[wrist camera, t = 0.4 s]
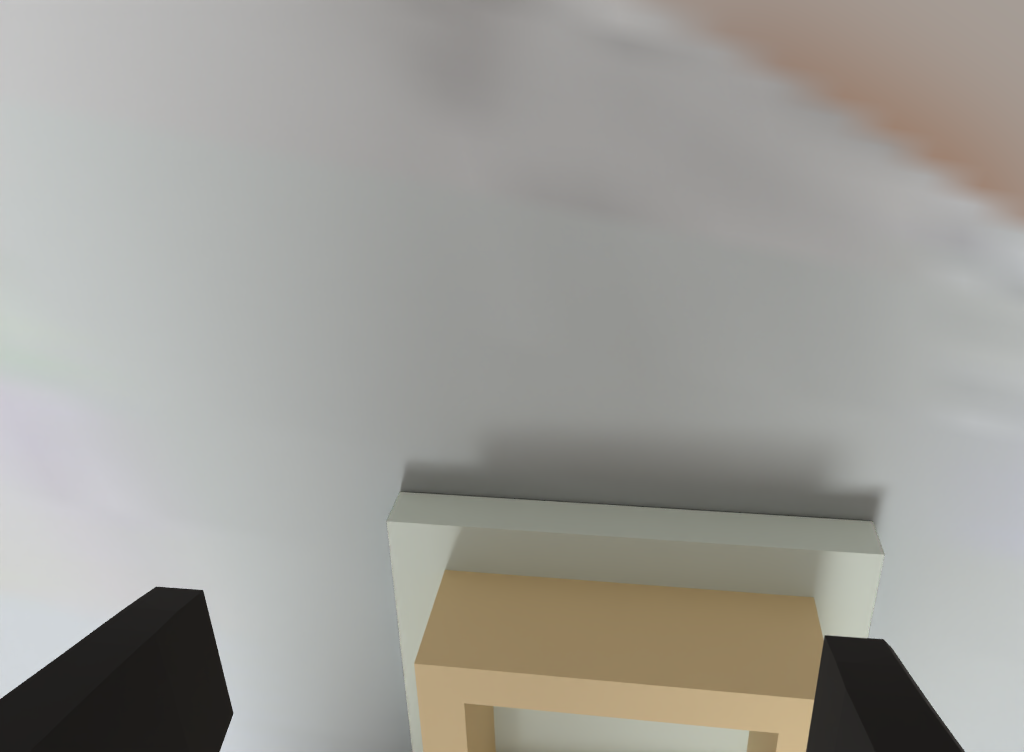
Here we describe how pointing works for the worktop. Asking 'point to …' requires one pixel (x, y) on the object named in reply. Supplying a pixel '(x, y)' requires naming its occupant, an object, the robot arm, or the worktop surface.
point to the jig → (619, 623)
